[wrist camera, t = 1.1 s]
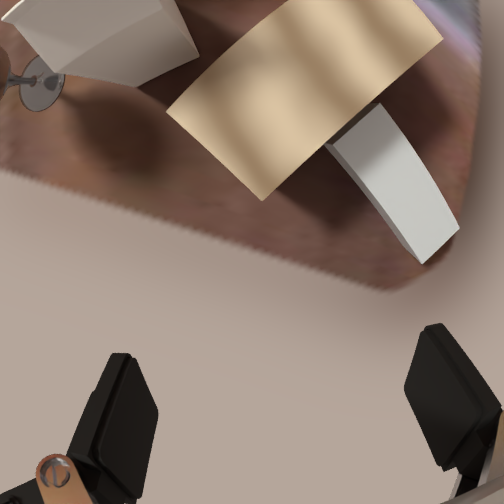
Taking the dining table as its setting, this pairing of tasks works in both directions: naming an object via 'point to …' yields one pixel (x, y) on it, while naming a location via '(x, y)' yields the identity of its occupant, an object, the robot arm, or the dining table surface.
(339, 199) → the dining table surface
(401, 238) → the white rectangular block
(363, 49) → the beige wooden bench
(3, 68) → the wine glass
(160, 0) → the milk carton
